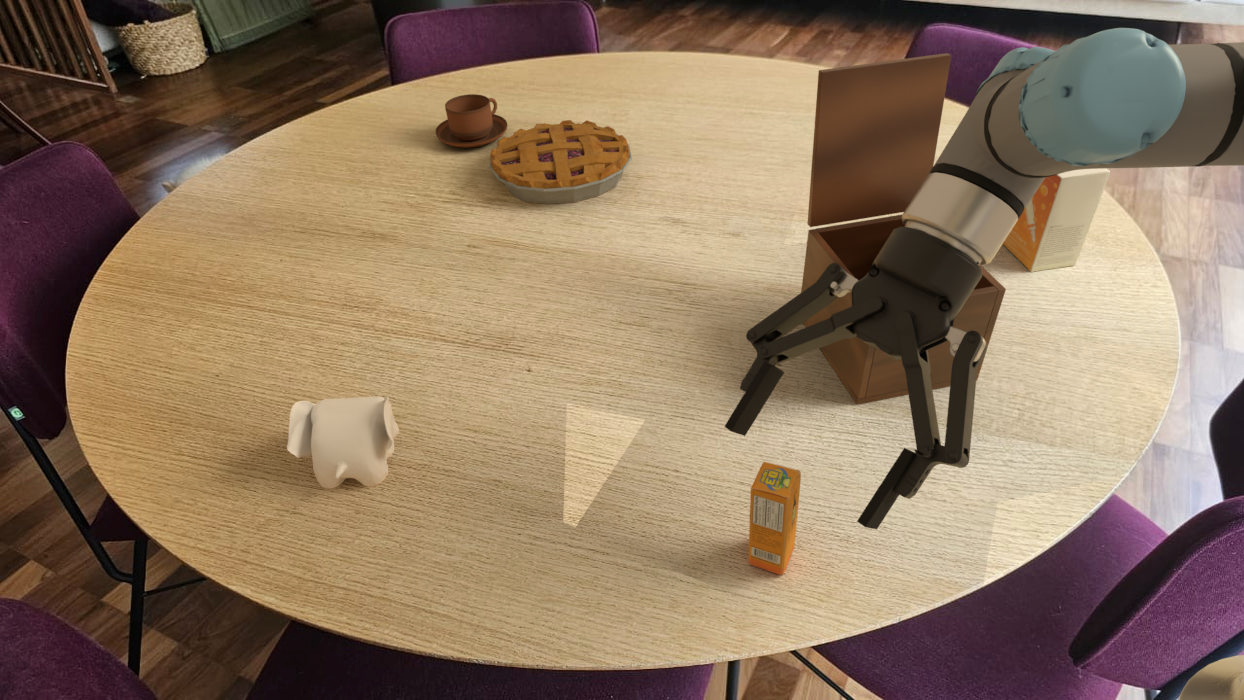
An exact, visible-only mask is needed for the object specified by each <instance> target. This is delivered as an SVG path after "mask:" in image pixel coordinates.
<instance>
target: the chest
mask: <svg viewBox="0 0 1244 700" xmlns="http://www.w3.org/2000/svg"><path fill="white" fill-rule="evenodd" d="M898 227H905V225H904V224H903V222H902V214H896V215H890V216H885V217H878V218H871V219H866V220H865V219H864V220H860V221H859V220H858V221H854V222H848V223H847V222H846V223H842V224H835V225H829V226H823V227H817V228H812V229H811V228H810V229H808V230H807V231H808V232H807V240H806V248H805V249H806V250H805V256H804V265H803V272H802V281H801V289H800V291H801V292H800V293H802V292H803V291H805V290H806V289H807V288H809V287H810V286H812V285H813V284H814V283H816V281H817V280H818V279H819V278H820V276H821V275H822V274H823V272H824V271H825V270H826V268H827V267H828V266H829V265H830V264H832V263H838V264H839V265H840V266H841V267H842V268H844V269H845V270H846V271H847V272H848V273H849V274H850V275H851V276H853V277H854V278H856V279H857V280H860V279H862V278H863V277H865V276H866V275H867V274H868V273H869V271H870V269H871V267H872V264H873V262H874V260H875V259H876V257H877V255H878V254H879V252H880V251H881V249H882V247H883V246H884V244H885V242H886V241H887V239H888V238H889V236H890V234H891V233H892V231H893V230H894V229H896V228H898ZM979 266H980V268H981V270H982V272H981V273H982V277H981V279H980V280H979V282H978V283H977V285H976V287H975V288H974V290H973V291H972V293H971V294H970V296H969V298H968V299H967V301H966V302H965V304H964V305H963V307H962V309H961V310H960V311H959V313H958V314H957V315H956V317H955V319H954V323H953V327H955V328H958V329H960V330H963V331H966V332H969V331H976V332H978V333H979V334H980V335H981V336H982V337H983V338H984V339H985V341H986V342H987V344H988V346H989V345H990V341H991V338H992V334H993V332H994V329H995V325H996V322H997V319H998V316H999V312H1000V309H1001V307H1002V303H1003V300H1004V296H1005V293H1006V290H1007V289H1006V287H1004V285H1002V284H1001V283H1000V282H999V281H998V280H997V279H996V278H995V277H994V276H993V275H992V274H991V273H990V272H989V271H988V270H987V269H986V268H984V266H983V265H979ZM849 307H852V299H851V292H850V293H847V294H846V295H845V296H843V297H837V298H836V299H835V300H834V301H833V302H832V303H830V304H829V305H828V306H826V307H825V308H823V309H822V310H821V311H819V312H818V313H816V314H815V315H813V316H812V317H811V318H809V319H808V320H806V321H805V322H803V323H802V325H803V326H804V328H806V327H809V326H811V325H814V324H816V323H819V322H821V321H824V320H826V319H828V318H830V317H831V315H833V314H835V313H837V312H840V311H842V310H845V309H847V308H849ZM949 349H950V342H949V341H946V342H945V343H943V344H940V345H938V346H936V347H934V348H931V349H929V350H928V356H929V362H930V369H931V372H930V378H931V384H932V391H933V390H936V389H942V388H948V387H950V383H951V372H952V364H953V360H954V357H953V356H952V355H951V354H950V350H949ZM819 350H820V351H821V353H822V355H823V356H824V357H825V359H826V360H827V362H828V363H829V365H830V367H831V368H832V369H833V371H834V373H835V374H836V375H837V377H838V378H839V380H840V381H841V383H842V385H843V386H844V387H845V389H846V390H847V392H848V393H849V395H850V397H851V398H852V399H853V401H854V402H855V404H856V405H863V404H867V403H871V402H876V401H882V400H886V399H892V398H896V397H901V396H907V395H909V393H908V387H907V380H906V373H905V369H904V367H903V364H902V360H899V359H898V360H895V359H893V358H892V357H890V356H888V355H887V354H886V353H884V352H883V351H881V350H880V349H879V348H875V347H872V346H870V345H868V344H866V343H864V342H863V341H862V340H860V339H859V338H857V337H856V336H855V337H853V338H845V339H842V340H839V341H837V342H834V343H831V344H829V345H826V346H824V347H821V348H819ZM986 354H987V352H986V353H985V355H984V357H983V359H982V361H981V363H980V365H979V367H978V369H977V377H976V382H977V381H978V379H979V376H980V373H981V370H982V367H983V363H984V361H985V357H986Z"/></svg>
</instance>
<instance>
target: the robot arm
mask: <svg viewBox="0 0 1244 700" xmlns="http://www.w3.org/2000/svg"><path fill="white" fill-rule="evenodd" d="M1213 166H1214V167H1218V166H1219V167H1220V166H1221V167H1223V166H1225V167H1226V166H1227V167H1228V166H1231V167H1232V166H1237V167H1239V166H1244V41H1241V42H1215V43H1185V44H1181V43H1179V44H1178V43H1177V44H1168V43H1167V42H1166V41H1165V40H1162V39H1159V38H1158V37H1156V36H1154V35H1153V34H1151V33H1148V32H1146V31H1145V30H1142V29H1140V28H1139V29H1138V28H1132V27H1131V28H1130V27H1116V28H1110V29H1104V30H1101V31H1098V32H1096V33H1093V34H1090V35H1087V36H1084V37H1080V38H1076V39H1075V40H1073V41H1072V42H1071V43H1070V44H1069V43H1068V44H1064V45H1062V46H1060V47H1059V48H1058V49H1057V50H1055V49H1050V48H1046V47H1042V46H1041V47H1040V46H1032V47H1031V48H1028V47H1017V48H1014V49H1012V50H1009V52H1007V53H1006V54H1005V55H1003V56H1002V58H1001V59H1000V60H999V61H998V63H997V64H996V66H994V69H993V70H992V71H991V73H990V74H989V76H988V77H987V78H986V79H985V80H984V81H983V82H981V84H980V85H979V87H978V89H977V91H976V94H975V97H974V99H973V101H972V102H971V104H970V106H969V108H968V109H967V111H966V112H965V114H964V116H963V118H962V119H961V121H960V122H959V124H958V125H957V127H956V128H955V131H954V132H953V134H952V135H951V136H950V139H949V140H948V142H947V143H946V145H945V147H944V149H943V150H942V151H941V153H940V155H939V156H938V158H937V160H936V162H934V165H933V168H932V170H931V171H930V173H929V174H928V176H927V178H926V179H925V181H924V182H923V184H922V185H921V187H920V188H919V190H918V191H917V193H916V195H915V196H914V198H913V199H912V201H911V202H910V204H909V205H908V207H907V208H906V210H905V211H904V212H902V214H901V215H902V222H903V224H904V225H905V227H898V228H896V229H894V230H893V231H892V233H891V234H890V236H889V238H888V239H887V241H886V242H885V244H884V246H883V247H882V249H881V251H880V252H879V254H878V255H877V257H876V259H875V260H874V262H873V264H872V267H871V269H870V271H869V273H868V274H867V275H866V276H865V277H863V278H862V279H860V280H857V279H856V278H854V277H853V276H851V275H850V274H849V273H848V272H847V271H846V270H845V269H844V268H842V267H841V266H840V265H839V264H838V263H832V264H830V265H829V266H828V267H827V268H826V270H825V271H824V272H823V274H822V275H821V276H820V278H819V279H818V280H817V281H816V283H814V284H813V285H812V286H810V287H809V288H807V289H806V290H805V291H803V292H802V293H801V292H800V293H799V294H798V295H795V297H792V299H791V300H789V301H787V302H786V303H784V304H783V305H782V306H780V307H779V308H778V309H776V310H775V311H774V312H771V314H769V315H768V316H767V317H765V318H764V319H763V320H761V321H759V322H758V323H757V324H755V325H754V326H752V327H751V328H750V329H749V330H748V331H747V332H746V333H745V334H746V335H745V338H746V340H747V341H748V343H749V342H750V344H751V345H752V346H753V348H754V350H755V351H756V357H755V359H754V361H753V363H752V364H751V366H750V368H749V369H748V370H747V373H746V374H745V375H744V377H743V379H742V380H741V383H740V387H739V390H741V391H743V392H744V393H743V395H742V396H741V399H740V400H739V402H738V403H737V405H736V407H735V408H734V410H733V412H732V413H731V414H730V416H729V418H728V419H727V421H726V423H725V424H724V428H726V430H728V431H729V432H732V433H735V434H736V435H737V434H738V435H741V436H744V437H745V436H746V435H748V432H749V431H750V429H751V428H752V426H753V424H754V423H755V420H756V419H757V417H758V416H759V414H760V413H761V411H762V410H763V408H764V406H765V404H767V401H768V400H769V398H770V396H771V395H772V393H773V392H774V390H775V389H776V387H777V386H778V383H779V382H780V380H781V378H782V377H783V376H784V374H785V371H784V370H782V369H781V368H780V367H782V363H785V362H787V361H790V360H793V359H795V358H798V357H800V356H802V355H805V354H809V353H810V352H813V351H815V350H818V349H819V350H820V348H821V347H824V346H826V345H829V344H831V343H834V342H837V341H839V340H842V339H845V338H853V337H855V336H856V337H857V338H859V339H860V340H862V341H863V342H864V343H866V344H868V345H870V346H872V347H875V348H879V349H880V350H881V351H883V352H884V353H886V354H887V355H888V356H890V357H892V358H893V359H895V360H898V359H899V360H902V364H903V367H904V369H905V373H906V380H907V387H908V393H909V394H908V400H909V405H910V406H909V407H910V413H911V420H912V426H913V427H912V428H913V433H914V440H915V446H916V449H914V451H913V450H910V449H909V448H906V447H904V448H903V449H902V451H900V454H899V455H898V457H897V458H896V460H895V462H894V463H893V465H892V466H891V468H890V469H889V471H888V472H887V474H886V476H885V477H884V479H883V480H882V482H881V483H880V484H879V486H878V488H877V489H876V491H875V492H874V494H873V496H872V497H871V499H870V500H869V502H868V504H867V505H866V507H865V508H864V509H863V511H862V513H861V514H860V516H859V517H858V519H857V520H856V522H857V523H859V524H860V525H861V526H863V527H864V528H867V529H873V530H878V528H879V527H880V526H881V524H882V523H883V521H884V519H885V518H886V516H887V514H888V513H889V511H890V510H891V509H892V507H893V505H894V504H895V503H896V501H897V499H898V498H899V496H901V497H902V498H905V499H907V500H910V499H912V498H914V496H916V495H917V493H918V492H919V490H920V489H921V487H922V485H923V484H924V482H925V481H926V480H927V478H928V476H929V475H930V473H931V472H932V470H933V469H934V468H935V467H936V466H938V465H947V466H951V467H955V468H958V469H962V468H965V467H967V466H968V465H969V462H970V456H971V455H970V454H971V445H972V444H971V443H972V433H973V432H972V431H973V421H974V409H975V397H976V387H977V381H976V377H977V369H978V367H979V365H980V363H981V361H982V359H983V357H984V355H985V356H986V354H987V350H988V348H989V345H988V344H987V342H986V341H985V339H984V338H983V337H982V336H981V335H980V334H979V333H978V332H976V331H969V332H966V331H963V330H960V329H958V328H955V327H953V323H954V319H955V317H956V315H957V314H958V313H959V311H960V310H961V309H962V307H963V305H964V304H965V302H966V301H967V299H968V298H969V296H970V294H971V293H972V291H973V290H974V288H975V287H976V285H977V283H978V282H979V280H980V279H981V277H982V273H981V272H982V270H981V268H980V266H979V265H981V266H983V265H989V264H991V263H992V261H993V259H994V258H995V257H996V255H997V253H998V251H999V250H1000V248H1001V247H1002V246H1003V242H1004V241H1005V239H1006V238H1007V236H1008V235H1009V233H1010V232H1011V230H1012V228H1013V227H1014V225H1015V224H1016V222H1017V221H1018V219H1019V217H1020V216H1021V214H1022V213H1023V211H1024V209H1025V208H1026V206H1027V205H1028V203H1029V202H1030V200H1031V199H1032V197H1033V196H1034V194H1035V193H1036V191H1037V190H1038V188H1039V187H1040V185H1041V184H1042V182H1043V181H1044V179H1045V178H1046V177H1050V176H1054V175H1057V174H1060V173H1064V172H1068V171H1073V170H1080V169H1100V168H1107V169H1144V168H1147V169H1148V168H1186V167H1187V168H1188V167H1198V168H1199V167H1213ZM850 292H851V299H852V307H849V308H847V309H845V310H842V311H840V312H837V313H835V314H833V315H831V317H830V318H828V319H826V320H824V321H821V322H819V323H816V324H814V325H811V326H809V327H804V328H801V329H798V330H796V331H794V332H792V331H793V330H795V329H796V328H797V327H799V326H800V325H803V322H805V321H806V320H808V319H809V318H811V317H812V316H813V315H815V314H816V313H818V312H819V311H821V310H822V309H823V308H825V307H826V306H828V305H829V304H830V303H832V302H833V301H834V300H835V299H836V298H837V297H843V296H845V295H846V294H847V293H850ZM790 332H791V333H790ZM946 341H949V342H950V349H949V350H950V354H951V355H952V356H953V357H954V360H953V364H952V372H951V383H950V386H949V394H948V395H949V396H948V405H947V417H946V427H945V439H944V445H942V441H941V436H940V435H941V434H940V430H939V423H938V416H937V410H936V405H935V398H934V392H933V390H932V384H931V378H930V372H931V369H930V362H929V356H928V350H929V349H931V348H934V347H936V346H938V345H940V344H943V343H945V342H946ZM985 353H986V354H985ZM984 358H985V357H984ZM778 367H779V368H778ZM1177 700H1244V654H1240V655H1233V656H1229V657H1225V658H1221V659H1219V660H1217V661H1216V660H1215V661H1214V662H1211V663H1208V664H1207V665H1206V666H1204V667H1203V668H1201V669H1200V670H1198V671H1197V672H1196V673H1195V674H1194V675H1192V676H1191V677H1190V678H1189V679H1188V680H1187V682H1186V684H1185V685H1184V687H1183V688H1182V689H1181V691H1180V695H1179V696H1178V699H1177Z"/></svg>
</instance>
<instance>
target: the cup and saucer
mask: <svg viewBox="0 0 1244 700" xmlns="http://www.w3.org/2000/svg"><path fill="white" fill-rule="evenodd" d="M491 103H492V105H493V108H491ZM444 109H445V114H446V119H445V120H443V121H442V122H441V123H439V124H438V125H437V126H436V128H435V136H436V137H437V139H438V140H440V142H442V143H443V144H446V145H448V146H451V147H456V148H477V147H481V146H485V145H488V144H491V143H493V142H495V141H498V140H500V139H501V137H502V136H503V135H504V134H505V133H506V132H507V129H508V122H507V120H506V119H505V118H504V117H502V116H501V115H498V114H496V112H497V110H498V102H497V101H496V99H495V98H493V97H487V96H485V95H483V94H477V93H476V94H474V93H473V94H463V95H458V96H455V97H452V98H450V99H448V100H447V101H446V102H445V104H444Z"/></svg>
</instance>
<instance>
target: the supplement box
mask: <svg viewBox="0 0 1244 700" xmlns="http://www.w3.org/2000/svg"><path fill="white" fill-rule="evenodd" d="M801 478H802V472H801V470H799V469H794V468H790V467H787V466H783V465H778V464H776V463H772V462H768V461H763V462H762V464H761V466H760V468H759V470H758V473H757V474H756V477H755V479H754V481H753V483H752V485H751V487H750V503H749V529H748V530H749V531H748V532H749V535H748V559H747V563H748V565H750V566H752V567H755V568H757V569H761V570H765V571H768V572H769V573H770V572H771V573H774V574H777V575H780V576H784V575H785V572H786V570H787V567H788V565H789V562H790V560H791V558H792V555H793V552H794V550H795V544H796V534H797V526H798V516H799V505H800V493H801V492H800V490H801Z"/></svg>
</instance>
